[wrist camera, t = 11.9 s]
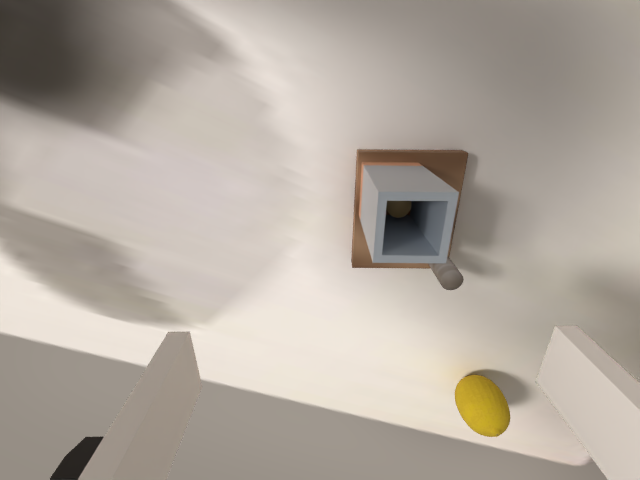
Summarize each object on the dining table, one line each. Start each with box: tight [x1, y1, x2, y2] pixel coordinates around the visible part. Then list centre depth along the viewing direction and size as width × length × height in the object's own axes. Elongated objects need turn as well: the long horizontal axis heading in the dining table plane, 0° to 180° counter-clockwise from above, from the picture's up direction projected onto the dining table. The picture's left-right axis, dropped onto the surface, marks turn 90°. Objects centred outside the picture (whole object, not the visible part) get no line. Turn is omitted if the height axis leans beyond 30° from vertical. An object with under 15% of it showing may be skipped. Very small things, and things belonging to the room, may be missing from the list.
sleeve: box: [359, 162, 459, 263], centre depth 27 cm, size 5×5×10 cm
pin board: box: [351, 149, 468, 290], centre depth 31 cm, size 12×10×6 cm
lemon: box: [455, 375, 510, 437], centre depth 40 cm, size 6×6×8 cm
